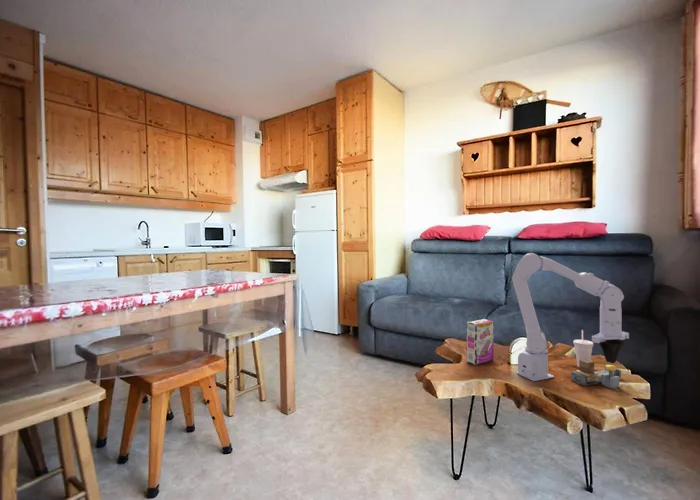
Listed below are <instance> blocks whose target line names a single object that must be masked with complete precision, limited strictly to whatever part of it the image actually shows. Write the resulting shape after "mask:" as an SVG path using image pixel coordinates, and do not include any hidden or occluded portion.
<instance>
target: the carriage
mask: <svg viewBox="0 0 700 500" xmlns="http://www.w3.org/2000/svg"><path fill="white" fill-rule="evenodd" d="M574 372H576V373H579V374H581V375H584V376H587V382H591V381H596V380H598V373H597V372H596V371H595V361H592V360H587V359H584V360H579V367H578V369H577V370H575V371H574Z"/></svg>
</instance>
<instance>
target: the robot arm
mask: <svg viewBox="0 0 700 500" xmlns="http://www.w3.org/2000/svg"><path fill="white" fill-rule="evenodd" d="M539 269H540V270H541V271H551V272H554V273H555V274H558V275H559V276H562V277H564V278H566V279H568V280H571V281H573V282H574V284H575V285H574V286H575V287H576V288H579V289H581V290H583V291H584V292H586V293H588V294H590V295H593V296H594V297H599V299H600V302H599V303H600V306H599V333H597V334H594V335H591V342H593V343H595V344H599V346H600V348H601V349H602V351H603V352H602V353H603V355H604V358H605V362H607V363H610V364H614V363H616V361H617V359H618V355H619V353H620V351H621V349H622V348H623V346H624V344H625V341H623V340H627V339H628V340H629V339H630V333H629V332H626V331H623V330H622V327H623V326H622V322H623V321H622V319H623V318H622V316H623V315H622V312H623V311H622V309H623V308H622V301H623V300H624V298H625V295H624V293H623V291H622V289H620V288H619V287H618V286H615V285H614V284H613V283H610V281H608V280H603V279H601V278H599V277H597V276H595V274H594V273H592V272H589V273H588V272H576V271H575V270H573V269H571V268H569V267H568V266H565V265H563V264H561V263H559V262H557V261H556V260H553V259H551V258H548V257H545V256H541V255H540V256H539V254H537V253H533V252H528V253H526V254H524V255H523V256H522V258H521V259H519V260H518V263H517V265H516V268H515V270H514V272H513V274H512V277H511V281H512V284H513V286H514V290H515V291H514V292H515V295H516V298H517V302H518V306H519V310H520V313H521V315H522V321H523V323H524V327H525V333H526V346H525V348H524V351H523V352H520V353H519V354H518V357H517V371H516V374H517V375H519V376H521V377H524V378H526V379H529V380H530V381H532V382H536V381H540V380H541V381H542V380H548V379H551V378H554V377H555V376H554V375H553V374H550V373H549V351H548V349H547V347H548V343H547V339H546V338H547V337H546V335H545V333H544V332H543V331H542V329H541V327H540V326H541V325H540V323H539V320H538V316H537V313H536V309H535V306H534V303H533V298H532V295H531V292H530V288H529V284H528V280H529V279H530V277H531V276H532V275H533V274H534V273H536V272H537V271H539Z"/></svg>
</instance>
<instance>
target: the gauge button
mask: <svg viewBox="0 0 700 500" xmlns="http://www.w3.org/2000/svg"><path fill="white" fill-rule="evenodd" d="M605 365H606V370H609V380H610V377H613V371H616V369H617V368H616V366H615V365H612V364H605Z"/></svg>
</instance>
